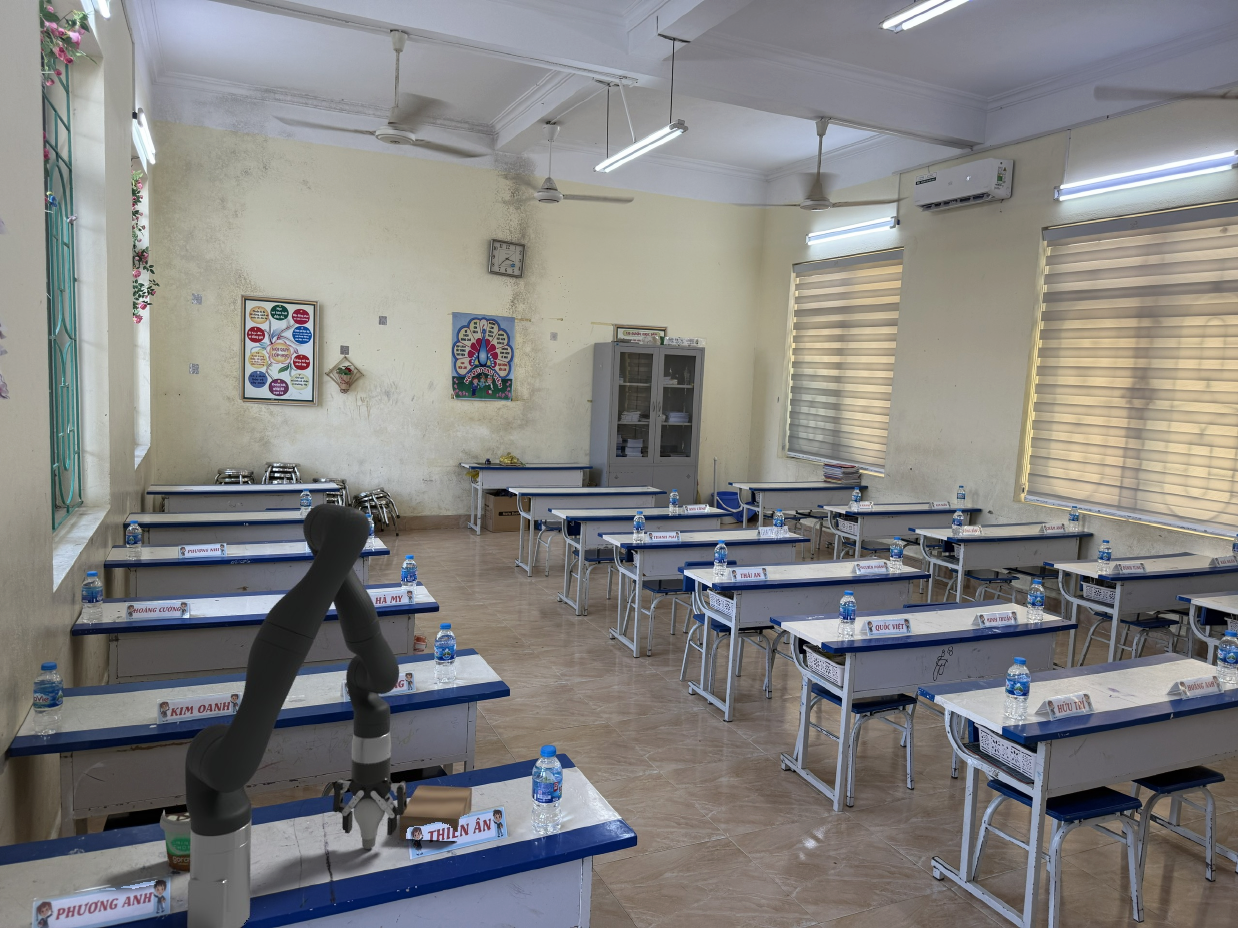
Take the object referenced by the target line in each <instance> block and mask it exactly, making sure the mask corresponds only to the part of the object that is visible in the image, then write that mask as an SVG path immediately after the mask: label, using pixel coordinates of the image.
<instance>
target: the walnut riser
mask: <svg viewBox="0 0 1238 928" xmlns="http://www.w3.org/2000/svg"><path fill="white" fill-rule="evenodd" d="M472 795H473V787H465V786H464V787H462V786H441V785H440V786H439V785H424V784H421V785H418V786H417V787H416V789H415V790H414V792H413V793H412V795H411V797H410V799H409V801H407V809H406V810H405V812H404V814H403V815H401V816H400V815H399V833H398V834H399V841H400V840H401V841H403V840H404V841H407V840H406V833H407V829H408V828H409V827H414V826H424V825H427V824H431V823H435V822H442V824H443V823H444V824H447V825H448V824H449V826H451V828H453V831H454V830H455V832H458V825H459V819H460V817H462V816H464V815H467V814H469V813H471V812H472V802H473V801H472V797H473V796H472ZM469 815H470V814H469Z"/></svg>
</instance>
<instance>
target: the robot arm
mask: <svg viewBox="0 0 1238 928" xmlns="http://www.w3.org/2000/svg"><path fill="white" fill-rule="evenodd" d="M305 515H306V516H305V517H304V519H303V520H304V521H303V526H302V531H303V536H304V539H305V543H306V544H307V546H308V548H309V550H310V552H311V555H312V556H313V558H314V559H313V562H312V564H311V565H310V567H309V569H308V571H307V572H306V573H305V575H304V576H303V577H302V578H301V580H299V581H298V583H296V584H295V585H294V586H293V587H292V588H291V589H289V591H288V592H286V594H284V595H283V596H282V597H281V598H280V599H279V600H278V601H276V603H275V604H274V605H273V606H272V607H271V608H270V610H269V612H268V613H267V614H266V616H265V618H264V620H263V622H262V624H261V626H260V627H259V630H258V632H257V633H256V636H255V637H254V640H253V642H252V644H251V647H250V651H249V654H248V658H247V664H246V665H247V666H246V675H245V681H244V682H245V683H244V690H243V694H242V698H241V700H240V703H239V706H238V708H237V710H236V713H235V714H234V716H233V719H232V720H231V722H230V724H224V723H217V724H215V723H214V724H211V725H209V726H207V727H205V728H203V729H202V730H200V731H199V732H197V734H196V735H195V736H194V737H193V739H192V740H191V742H190V743H189V746H188V748H187V751H186V754H185V755H186V756H185V765H184V766H185V767H184V768H185V769H184V770H185V771H184V772H185V773H184V774H185V775H184V776H185V779H184V782H185V803H186V804H185V805H186V809H187V812H188V813H189V816H190V820H191V844H190V871H189V880H188V882H187V924H186V925H187V926H186V927H187V928H242V927H243V926H244V925H245V924H246V923H247V922H246V920H248V921H249V919H250V913H251V912H250V911H251V864H252V863H251V861H252V860H251V859H252V857H251V856H252V855H251V854H252V853H251V851H252V814H253V812H252V810H253V809H252V808H253V807H252V803H251V802H252V801H251V800H250V798H249V796H248V794H247V792H246V789H245V788H244V786H246V784H248V783H249V782H250V780H251V779H252V778H253V777H254V775H255V774H256V772H257V771H258V769H259V767H260V764H261V763H262V760H263V757H264V755H265V752H266V750H267V747H268V744H269V742H270V740H271V736H272V734H273V731H274V728H275V725H276V722H277V720H278V717H279V715H280V713H281V710H282V708H283V706H284V703H285V701H286V699H287V697H288V696H289V693H290V691H291V690H292V687H293V684H294V682H295V680H296V678H297V676H298V674H299V672H300V670H301V667H302V665H303V664H304V662H305V661H306V658H307V656H308V654H309V652H310V650H311V648H312V645H313V644H314V642H315V640H316V638H317V635H318V633H319V630H320V628H321V626H322V624H323V622H324V620H325V619H326V616H327V614H328V612H329V611H330V608H331V606H332V605H334V608H335V611H336V615H337V617H338V621H339V625H340V628H341V633H342V636H343V640H344V643H345V646H346V648H347V649H348V651H350V652H351V653H352V654H354V655H355V656H353V658H351V660H350V661H349V663H348V665H347V668H346V674H345V675H346V676H345V680H346V687H347V691H348V696H349V701H350V703H351V707H352V711H353V729H352V730H353V733H352V736H353V737H352V740H351V765H350V767H351V771H350V773H351V774H350V775H351V776H350V778H351V780H350V781H349V780H345V778H343V777H341V778H339V780H337V782H336V783H335V784H334V791H333V801H332V802H333V804H332V811H333V812H334V813H340V814H341V815H342V817H341V818H342V821H341V822H342V827H341V828H342V831H344V834H350V833H351V832H352V830H353V817H354V810H353V809H354V807H355V805H356V803H357V802H359V801H361V800H363V799H372V800H375V801H376V802H377V803H378V805H379V806H380V807H381V809H382V810H384V811H385V813H386V815H387V816H388V817H387V820H386V821H387V826H386V827H387V829H386V834H387V835H386V836H387V837H388V836H393V834H394V833H395V831H396V830H397V828H398V817H400V816H401V815H403V814H404V812H405V810H406V809H407V804H408V801H407V800H408V798H407V782H406V781H405V780H402V781H400V783H399V782H397V783H396V782H395V783H393V781H392V780H391V761H392V760H391V758H392V754H391V753H392V737H391V707H390V705H389V703H388V702H387V701H385V699H383V698H381V696H380V695H387V694H388V693H390V692H392V691H393V690H394V689H395V687H396V686H397V684H398V682H399V679H400V678H399V677H400V668H399V663H398V660H397V657H396V655H395V653H394V651H393V650H392V648H391V646H390V645H389V643H388V641H387V639H386V638H385V636H384V635H383V633H382V629H381V624H380V620H379V617H378V613H377V609H376V606H375V604H374V602H373V599H372V598H371V595H370V594H369V592H368V590H367V588H365V586H364V583H363V582H362V580H361V579H360V578H359V576H358V574H357V572H356V570H355V569H354V567H353V566H354V565H355V563H356V562H357V560H358V558H359V557H360V556H361V554H362V552H363V550H364V549H365V547H366V545H367V542H368V540H369V537H370V533H371V531H370V530H371V524H370V519H369V517H368V516H367V514H366V513H365V512H364V511H362V510H361V509H357V508H355V507H350V506H345V505H341V504H335V503H320V504H317V505H315V506H314V507H312V508H311V509H310V510H309V511H308V512H307V514H305ZM347 790H349V791H350V793H351V794H352V796H353V797H352V798H351V799H350V801H349V802H348V803H347V804H346V803H344V799H345V798H344V797H345V793H346V791H347ZM391 791H393V794H394V796H396V804H395V802H394V799H393V797H392V795H390V792H391ZM352 810H353V811H352ZM248 918H249V919H248ZM245 922H246V923H245ZM244 923H245V924H244Z"/></svg>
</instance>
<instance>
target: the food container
mask: <svg viewBox="0 0 1238 928" xmlns="http://www.w3.org/2000/svg"><path fill="white" fill-rule="evenodd" d="M159 826H160V828H161V829H162V830H163V831H164V839H165V840H164V841H165V848H166V850H165V851H166V857H167V865H168V867H169V869H170V870H173V871H176V872H184V873H185V872H190V844H191V820H190V816H189V813H188V811H185V812H179V813H177V812H176V813H169V814H166V812H165V809H163V812H162V813H161V816H160V821H159Z"/></svg>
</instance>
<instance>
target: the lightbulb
mask: <svg viewBox="0 0 1238 928" xmlns="http://www.w3.org/2000/svg"><path fill="white" fill-rule="evenodd" d="M385 813H386V812H385V811H384V810H382V809H381V807H380V806H379V805H378V803H377V802H376V801H375V800H372V799H363V800H361V801H359V802H357V803H356V805H355V806H354V807H353V817H354V819H355V821H356V823H357V824H358V827H359V830H360V837H361V843H362V845H361V846H362V848H364V849H366V850H371V849H372V848H374V847H375V846H376V841H377V840H376V839H377V835H378V830H379V826H380V824H381V822H382V820H383V818H384V817H385Z"/></svg>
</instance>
